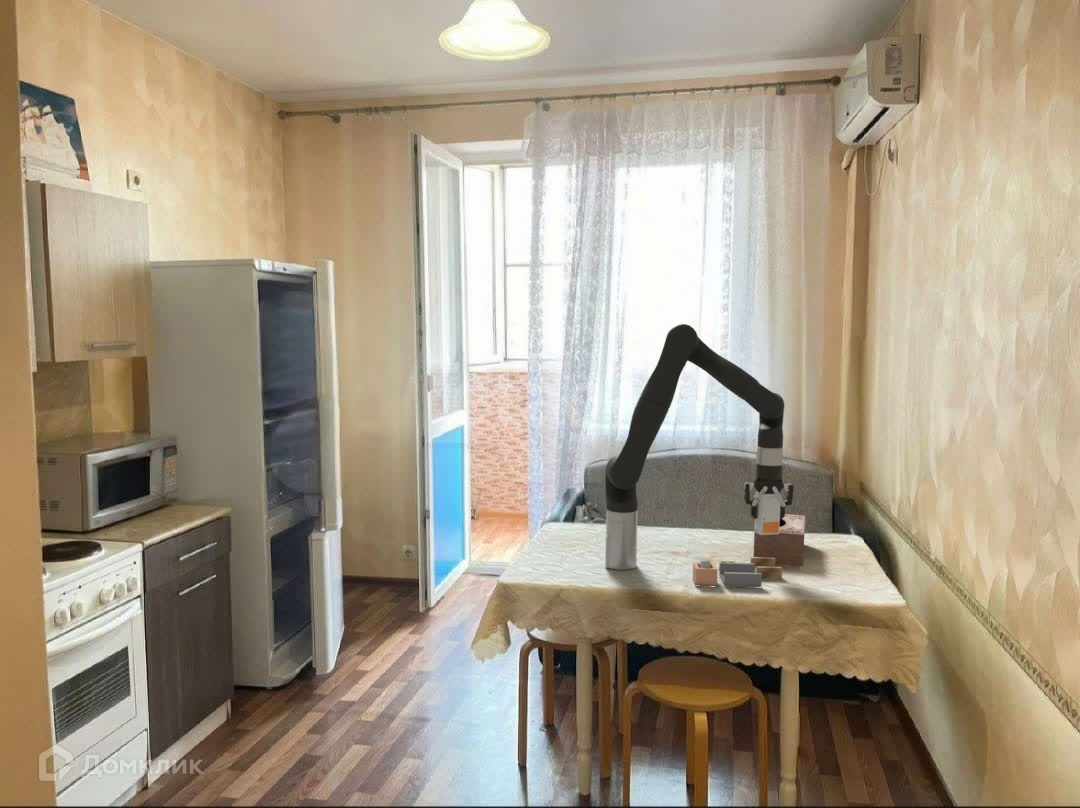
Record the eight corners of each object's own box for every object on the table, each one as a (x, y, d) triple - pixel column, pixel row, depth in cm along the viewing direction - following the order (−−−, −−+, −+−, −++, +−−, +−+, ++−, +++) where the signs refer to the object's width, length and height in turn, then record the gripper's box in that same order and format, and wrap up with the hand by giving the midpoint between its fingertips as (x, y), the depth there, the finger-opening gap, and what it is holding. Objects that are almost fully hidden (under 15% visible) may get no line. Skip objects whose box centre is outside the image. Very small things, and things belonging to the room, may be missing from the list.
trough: (756, 578, 237) (757, 567, 236) (750, 567, 247) (750, 556, 247) (781, 579, 236) (782, 568, 236) (774, 568, 246) (774, 557, 246)
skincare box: (761, 535, 237) (762, 494, 236) (753, 531, 242) (755, 491, 240) (780, 534, 239) (781, 493, 238) (772, 530, 243) (774, 490, 242)
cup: (695, 586, 229) (695, 563, 228) (692, 579, 235) (693, 557, 234) (717, 586, 229) (717, 564, 228) (713, 580, 235) (714, 558, 234)
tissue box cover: (802, 567, 248) (804, 534, 247) (753, 562, 253) (754, 530, 252) (803, 545, 273) (805, 515, 272) (758, 541, 277) (759, 511, 276)
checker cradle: (724, 587, 228) (724, 570, 228) (718, 575, 239) (719, 559, 238) (761, 588, 228) (761, 571, 227) (754, 576, 238) (754, 560, 237)
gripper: (746, 464, 235) (744, 521, 237) (798, 465, 234) (795, 522, 236) (741, 459, 242) (740, 515, 244) (791, 460, 241) (789, 516, 243)
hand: (767, 518), depth 240 cm, fingers closed on skincare box, 7 cm apart
